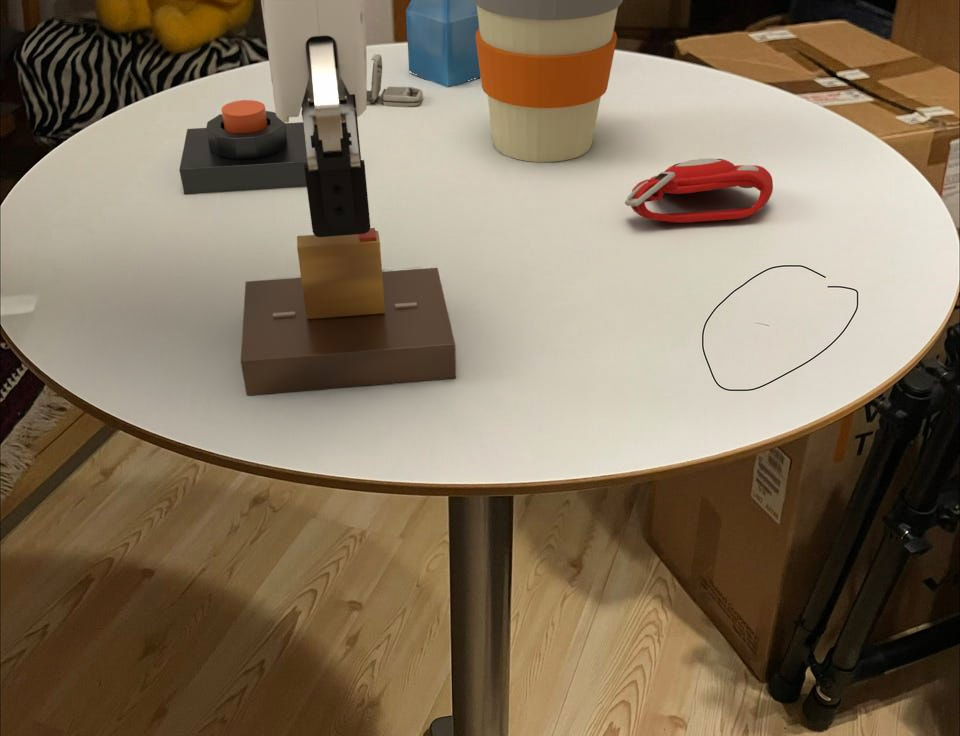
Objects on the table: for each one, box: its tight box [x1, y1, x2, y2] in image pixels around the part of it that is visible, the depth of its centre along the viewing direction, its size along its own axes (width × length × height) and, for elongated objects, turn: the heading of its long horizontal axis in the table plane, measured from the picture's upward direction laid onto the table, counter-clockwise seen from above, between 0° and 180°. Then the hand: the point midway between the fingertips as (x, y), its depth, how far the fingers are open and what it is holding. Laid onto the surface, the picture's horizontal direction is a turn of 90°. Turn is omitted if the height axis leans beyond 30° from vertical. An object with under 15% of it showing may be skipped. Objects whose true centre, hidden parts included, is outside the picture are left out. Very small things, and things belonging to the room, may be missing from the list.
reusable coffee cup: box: [473, 0, 624, 163], centre depth 90 cm, size 13×13×15 cm
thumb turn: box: [296, 227, 385, 319], centre depth 65 cm, size 5×2×5 cm, turn 98°
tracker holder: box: [624, 158, 774, 223], centre depth 83 cm, size 12×4×10 cm
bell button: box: [220, 99, 268, 133], centre depth 88 cm, size 4×4×2 cm
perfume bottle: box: [405, 0, 481, 88], centre depth 105 cm, size 6×6×12 cm
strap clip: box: [366, 54, 423, 108], centre depth 102 cm, size 8×3×4 cm, turn 84°
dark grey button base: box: [179, 110, 308, 195], centre depth 89 cm, size 11×9×4 cm
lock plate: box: [240, 267, 457, 396], centre depth 68 cm, size 13×10×3 cm
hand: (338, 196), depth 62 cm, fingers open, 9 cm apart
